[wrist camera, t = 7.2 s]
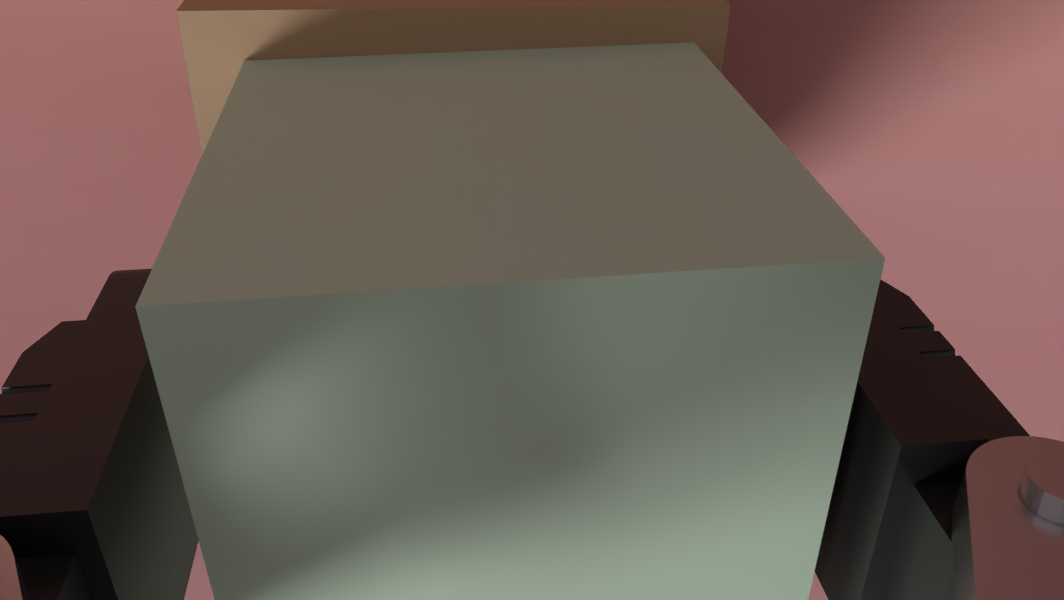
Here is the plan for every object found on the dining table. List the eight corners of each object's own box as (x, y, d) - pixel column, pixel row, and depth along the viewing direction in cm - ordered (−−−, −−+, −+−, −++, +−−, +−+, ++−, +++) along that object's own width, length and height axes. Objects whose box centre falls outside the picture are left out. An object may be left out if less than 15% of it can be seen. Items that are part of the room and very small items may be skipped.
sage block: (244, 60, 10) (135, 307, 6) (693, 42, 11) (886, 257, 6) (304, 419, 13) (259, 763, 9) (662, 391, 13) (784, 704, 9)
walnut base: (244, -79, 14) (176, 11, 10) (637, -79, 15) (731, 4, 10) (291, 268, 17) (254, 448, 13) (612, 255, 18) (677, 423, 14)
